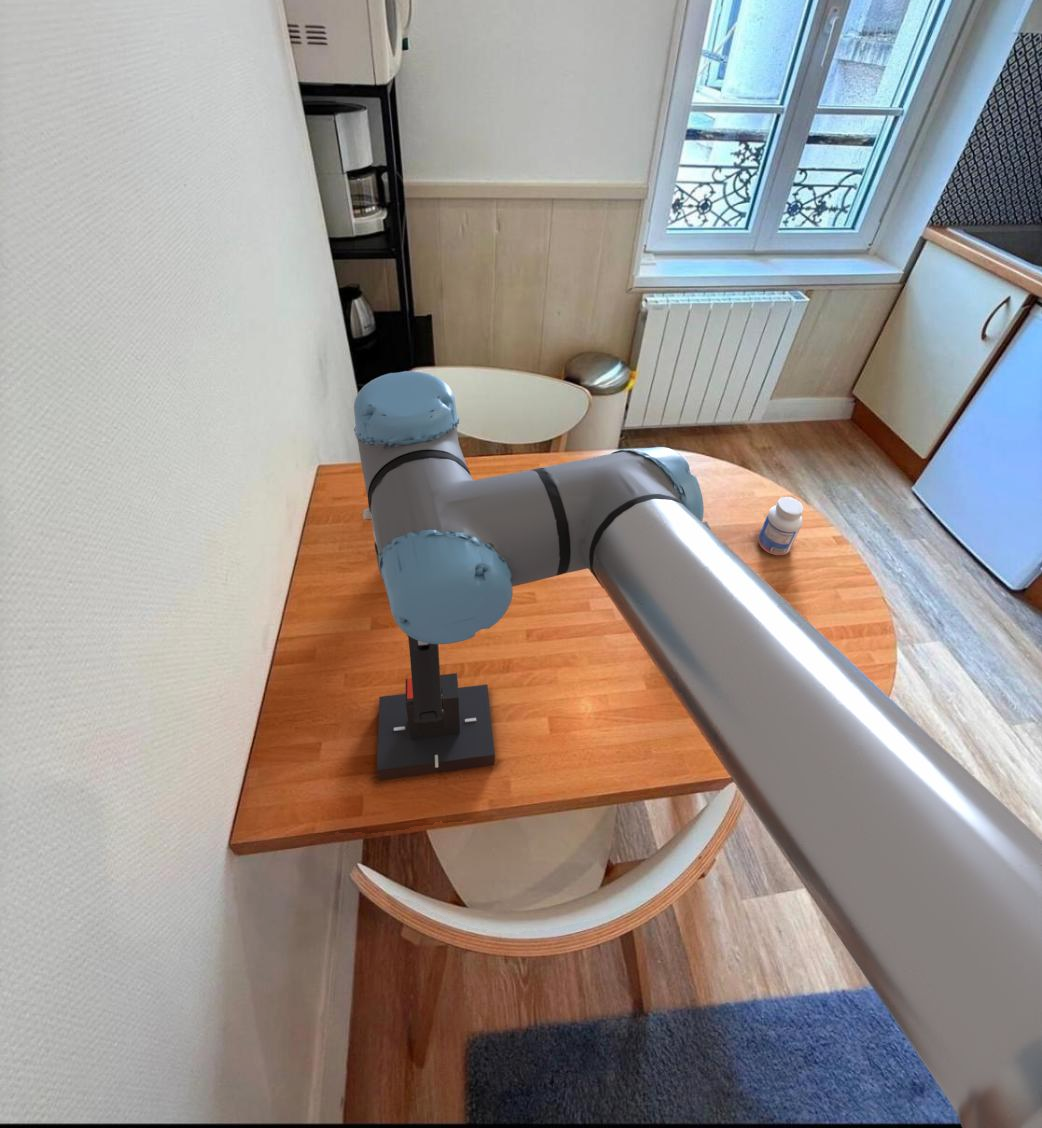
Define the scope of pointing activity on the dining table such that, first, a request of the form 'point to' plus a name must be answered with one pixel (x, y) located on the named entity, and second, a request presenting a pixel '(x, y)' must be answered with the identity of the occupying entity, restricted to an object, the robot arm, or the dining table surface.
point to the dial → (450, 709)
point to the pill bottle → (781, 526)
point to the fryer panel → (435, 738)
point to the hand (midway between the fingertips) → (429, 664)
